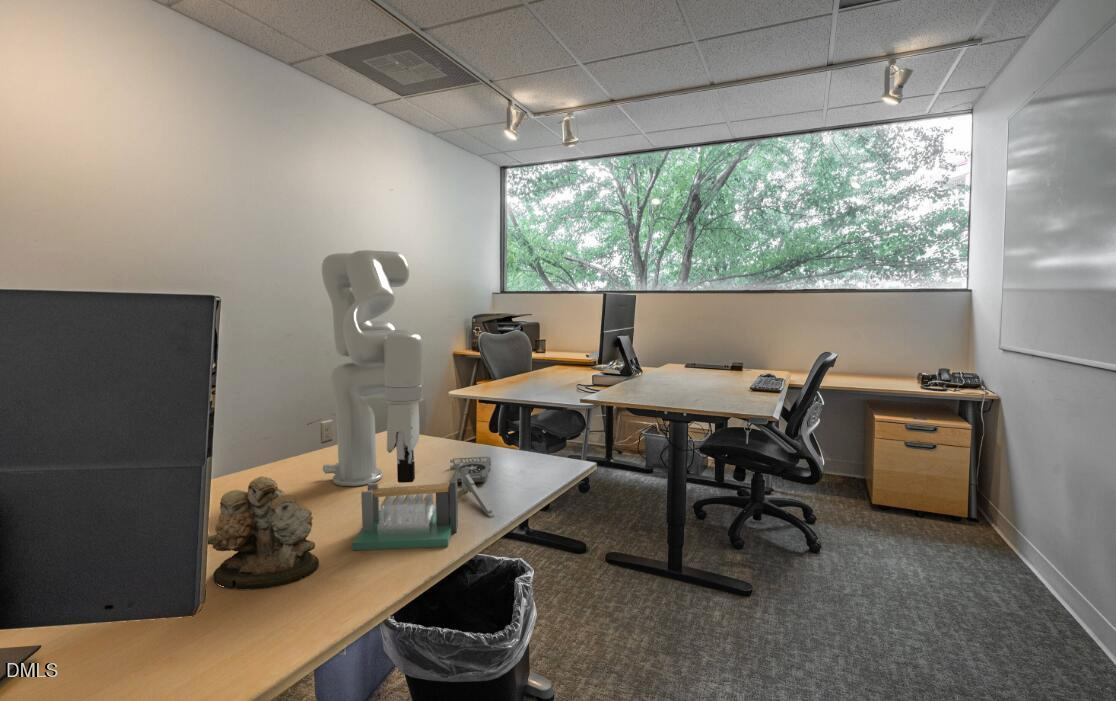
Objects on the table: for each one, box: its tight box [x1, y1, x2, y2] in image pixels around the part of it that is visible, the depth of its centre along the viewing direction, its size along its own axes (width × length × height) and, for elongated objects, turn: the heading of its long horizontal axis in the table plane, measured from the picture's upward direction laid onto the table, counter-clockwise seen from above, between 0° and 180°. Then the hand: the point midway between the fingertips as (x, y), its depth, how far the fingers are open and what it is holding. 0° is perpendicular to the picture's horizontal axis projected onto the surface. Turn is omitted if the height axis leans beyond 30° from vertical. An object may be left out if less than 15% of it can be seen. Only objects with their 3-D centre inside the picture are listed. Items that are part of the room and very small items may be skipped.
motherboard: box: [351, 482, 452, 551], centre depth 109 cm, size 18×16×10 cm
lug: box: [435, 476, 459, 534], centre depth 110 cm, size 4×4×10 cm
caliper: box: [461, 467, 495, 518], centre depth 125 cm, size 20×1×6 cm, turn 28°
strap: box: [367, 482, 450, 498], centre depth 109 cm, size 17×3×1 cm, turn 95°
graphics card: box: [449, 456, 492, 483], centre depth 145 cm, size 17×4×12 cm
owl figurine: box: [208, 476, 320, 590], centre depth 92 cm, size 18×12×17 cm, turn 99°
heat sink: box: [377, 493, 436, 535], centre depth 110 cm, size 10×10×6 cm
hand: (406, 480), depth 109 cm, fingers closed
